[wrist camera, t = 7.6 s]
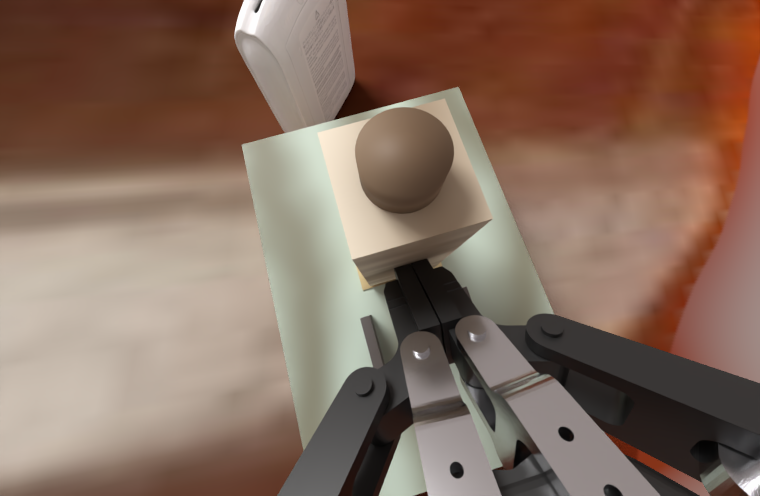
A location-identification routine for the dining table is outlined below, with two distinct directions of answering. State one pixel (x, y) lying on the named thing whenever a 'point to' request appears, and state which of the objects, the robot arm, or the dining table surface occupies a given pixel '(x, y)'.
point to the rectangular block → (351, 290)
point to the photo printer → (298, 57)
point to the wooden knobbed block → (403, 188)
